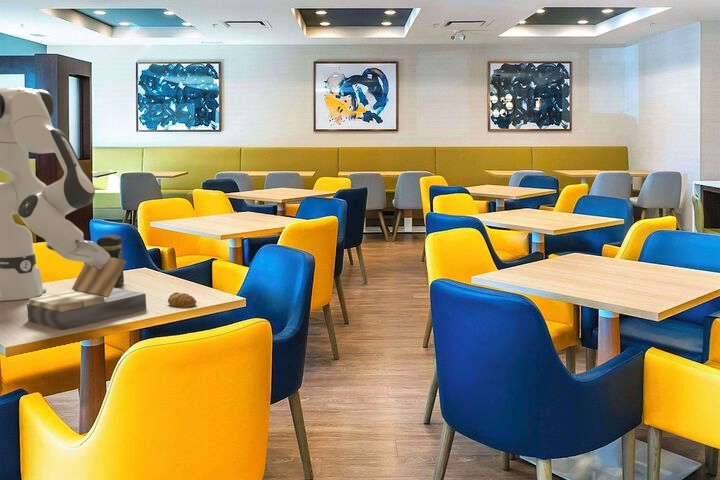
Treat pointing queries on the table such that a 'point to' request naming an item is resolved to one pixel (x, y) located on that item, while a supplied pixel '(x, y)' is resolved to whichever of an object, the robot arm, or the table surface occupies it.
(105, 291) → the plank
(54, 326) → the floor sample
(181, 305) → the pastry
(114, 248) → the coffee jar
